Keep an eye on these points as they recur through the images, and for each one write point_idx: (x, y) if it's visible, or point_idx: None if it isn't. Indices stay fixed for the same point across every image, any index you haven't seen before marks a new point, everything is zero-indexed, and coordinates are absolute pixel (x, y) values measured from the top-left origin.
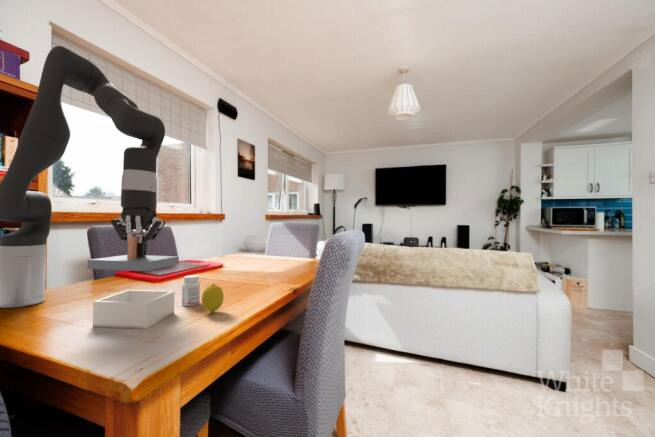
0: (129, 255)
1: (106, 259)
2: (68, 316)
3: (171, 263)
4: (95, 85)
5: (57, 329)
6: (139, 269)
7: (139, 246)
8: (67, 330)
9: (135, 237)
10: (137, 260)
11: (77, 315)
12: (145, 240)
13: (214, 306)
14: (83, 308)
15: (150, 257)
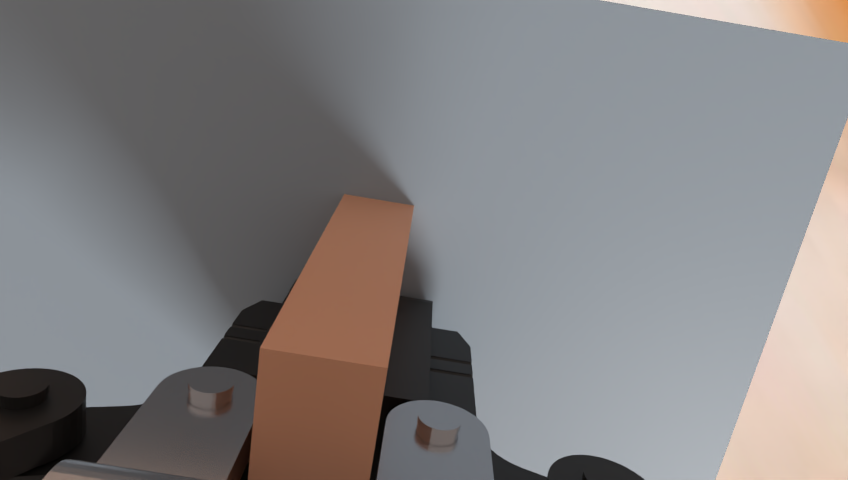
0: (378, 215)
1: (647, 119)
2: (840, 249)
3: None
4: None
5: (769, 26)
6: None
7: (256, 358)
8: (700, 5)
9: (257, 408)
10: (181, 50)
11: (797, 264)
12: (70, 382)
13: None
14: (835, 390)
15: None
